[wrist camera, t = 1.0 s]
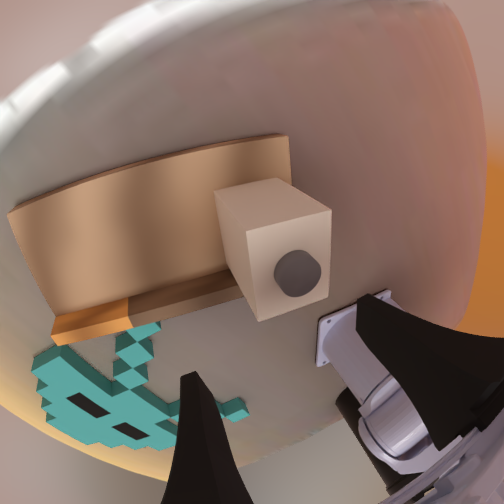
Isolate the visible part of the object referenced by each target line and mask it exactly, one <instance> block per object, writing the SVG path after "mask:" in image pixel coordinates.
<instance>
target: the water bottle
mask: <svg viewBox="0 0 504 504" xmlns="http://www.w3.org/2000/svg"><path fill="white" fill-rule="evenodd" d="M336 406H337V407H338V409H339V410H340V412H341V414H342V415H343V417H344V418H345V420H346V422H347V423H348V425H349V427H350V428H351V430H352V431H353V433H354V434H355V436H356V438H357V439H358V441H359V443H360V444H361V446H362V447H363V449H364V451H365V452H366V453H367V456H368V457H369V459H370V460H371V462H372V464H373V465H374V467H375V468H376V470H377V471H378V473H379V475H380V476H381V478H382V479H383V481H384V483H385V484H386V486H387V487H386V491H387V492H388V494H389V495H390V496H391V495H393V494H394V493H396V492H397V491H399V490H400V489H402V488H403V487H405V486H406V485H407V484H409V483H410V482H412V481H413V480H414V479H416V478H417V477H418V476H420V475H421V474H422V473H424V472H419V473H411V474H399V473H398V471H395V470H394V469H393V468H392V467H390V466H389V465H388V464H387V463H386V462H384V461H382V460H380V459H378V458H377V457H376V456H375V455H374V454H373V453H372V452H371V451H370V450H369V449H368V448H367V446H366V445H365V443H364V442H363V440H362V438H361V436H360V434H359V430H358V427H359V419H360V418H361V417H362V415H361V413H360V412H359V410H358V409H359V408H360V407H361V406H362V405H361V404H360V403H359V401H358V400H357V398H356V397H355V396H354V394H353V393H352V392H351V390H350V389H349V387H347V388H346V389H345V390H344V391H343V392H342V393H341V394H340V395H339V397H338V398H337V400H336ZM438 479H439V477H438V478H437V479H436V480H435V481H433V482H432V483H431V484H430V485H428V486H427V487H426V488H424V489H423V490H422V491H420V492H419V493H418V494H416V495H415V496H414V497H412V498H411V499H409V500H408V501H406V502H405V503H404V504H414V503H415V502H417V501H418V500H420V499H421V498H423V497H424V493H425V492H427V491H429V490H431V489H432V488H434V486H433V485H434V483H435V482H436V481H437V480H438Z"/></svg>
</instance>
